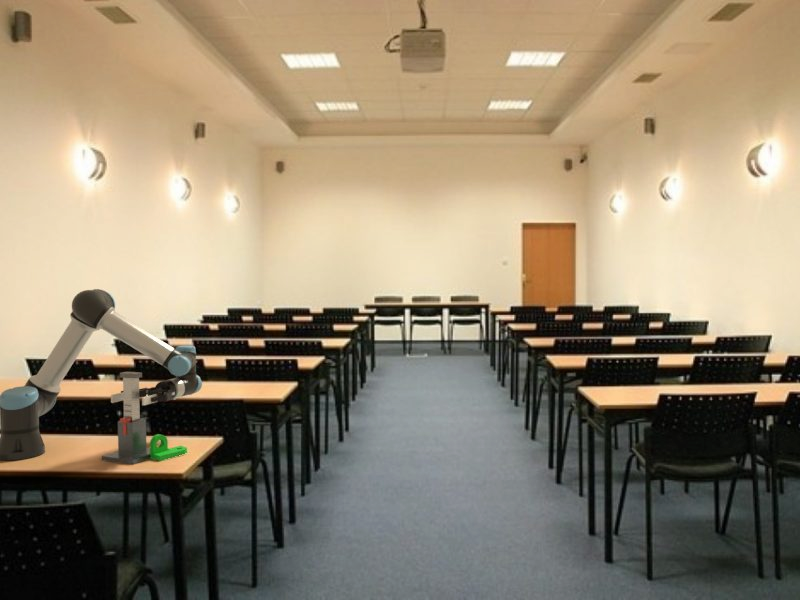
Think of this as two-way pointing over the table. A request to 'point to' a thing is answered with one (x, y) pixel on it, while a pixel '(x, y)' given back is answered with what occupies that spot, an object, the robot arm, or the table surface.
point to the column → (131, 394)
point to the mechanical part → (164, 449)
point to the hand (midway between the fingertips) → (127, 400)
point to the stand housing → (130, 443)
